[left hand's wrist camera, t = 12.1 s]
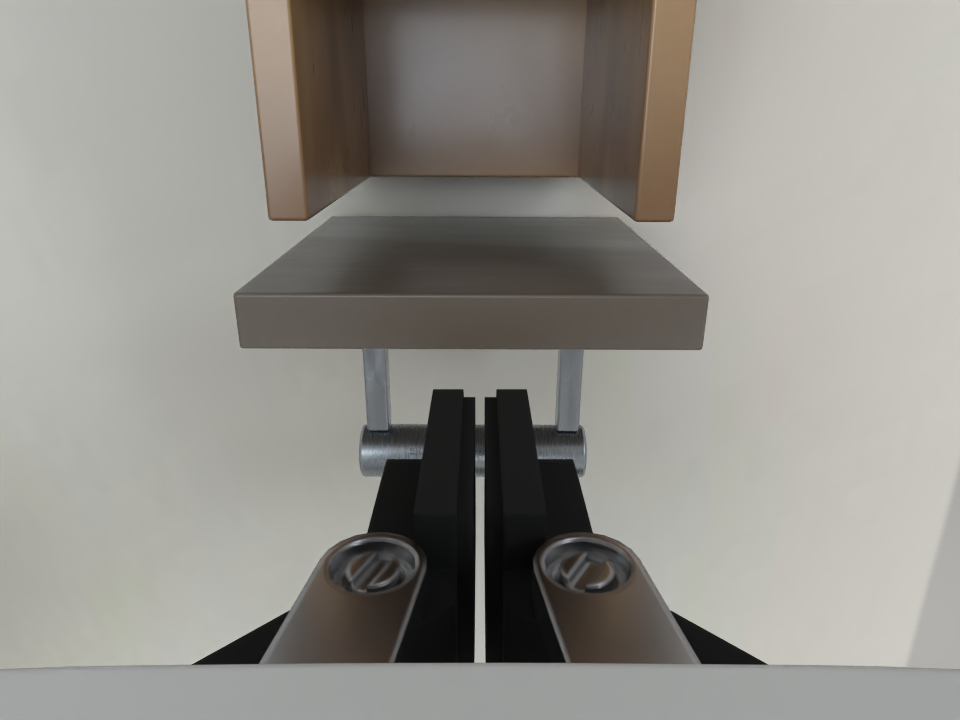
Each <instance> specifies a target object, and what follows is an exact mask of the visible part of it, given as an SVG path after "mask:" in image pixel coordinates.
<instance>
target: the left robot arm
mask: <svg viewBox="0 0 960 720" xmlns="http://www.w3.org/2000/svg"><path fill="white" fill-rule="evenodd" d="M475 546H476V504H475V397H464V392H463V389H433V394H432V400H431V406H430V413H429V419H428V425H427V431H426V437H425V443H424V450H423V456H422V459H387V461H386V463H385V467H384V471H383V475H382V479H381V482H380V486H379V490H378V494H377V498H376V502H375V505H374V509H373V513H372V517H371V521H370V525H369V528H368V532H367V533H366V534H361V535H356V536H353V537H350V538H348V539H345V540H343V541H340V542H339V543H337V544H336V545H334V546H333V547H331V548H330V549H329V550H328V551H327V552H326V553H325V554H324V555H323V557H322V558H321V559H320V560H319V562H318V564H317V566H316V567H315V569H314V571H313V572H312V574H311V576H310V578H309V579H308V581H307V583H306V584H305V586H304V588H303V589H302V591H301V593H300V595H299V596H298V598H297V600H296V601H295V603H294V605H293V606H292V608H291V610H290V611H288V612H286V613H284V614H282V615H281V616H279V617H277V618H275V619H273V620H272V621H270V622H268V623H266V624H264V625H263V626H261V627H259V628H257V629H255V630H254V631H252V632H250V633H248V634H246V635H245V636H243V637H241V638H239V639H237V640H235V641H234V642H232V643H230V644H228V645H226V646H225V647H223V648H221V649H219V650H217V651H216V652H214V653H212V654H210V655H208V656H207V657H205V658H203V659H201V660H199V661H198V662H196V663H194V664H192V665H145V666H75V667H47V668H20V669H0V720H960V669H940V668H912V667H885V666H831V665H768V664H766V663H764V662H762V661H761V660H759V659H757V658H755V657H753V656H752V655H750V654H748V653H746V652H744V651H743V650H741V649H739V648H737V647H735V646H734V645H732V644H730V643H728V642H726V641H725V640H723V639H721V638H719V637H717V636H715V635H714V634H712V633H710V632H708V631H706V630H705V629H703V628H701V627H699V626H697V625H696V624H694V623H692V622H690V621H688V620H687V619H685V618H683V617H681V616H679V615H678V614H676V613H674V612H672V611H670V610H669V608H668V606H667V605H666V603H665V601H664V600H663V598H662V596H661V595H660V593H659V591H658V589H657V588H656V586H655V584H654V583H653V581H652V579H651V578H650V576H649V574H648V572H647V571H646V569H645V567H644V566H643V564H642V562H641V560H640V559H639V558H638V557H637V555H636V554H635V553H634V552H633V551H632V550H631V549H630V548H629V547H627V546H626V545H624V544H623V543H621V542H620V541H617V540H615V539H612V538H610V537H607V536H604V535H599V534H594V533H593V532H592V528H591V525H590V521H589V517H588V513H587V509H586V505H585V502H584V498H583V494H582V490H581V486H580V482H579V479H578V475H577V471H576V467H575V463H574V461H573V459H538V456H537V450H536V443H535V437H534V431H533V425H532V419H531V413H530V406H529V400H528V394H527V389H497V392H496V397H485V503H484V546H485V645H486V663H474V645H475Z"/></svg>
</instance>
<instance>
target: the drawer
mask: <svg viewBox="0 0 960 720" xmlns="http://www.w3.org/2000/svg"><path fill="white" fill-rule="evenodd" d="M696 2H697V0H246V9H247V19H248V28H249V38H250V47H251V56H252V66H253V75H254V85H255V94H256V104H257V113H258V122H259V132H260V141H261V151H262V160H263V170H264V179H265V188H266V198H267V207H268V217H269V219H270V220H275V221H306V220H308V219H310V218H311V217H313V216H314V215H316V214H317V213H319V212H320V211H321V210H323V209H324V208H326V207H327V206H329V205H330V204H331V203H333V202H334V201H336V200H337V199H339V198H340V197H342V196H343V195H344V194H346V193H347V192H349V191H350V190H352V189H353V188H355V187H356V186H357V185H359V184H360V183H362V182H363V181H365V180H366V179H367V178H369V177H579V178H581V179H582V180H583V181H584V182H586V183H587V184H588V185H590V186H591V187H592V188H593V189H595V190H596V191H597V192H598V193H600V194H601V195H602V196H604V197H605V198H606V199H607V200H609V201H610V202H611V203H613V204H614V205H615V206H616V207H618V208H619V209H620V210H621V211H623V212H624V213H625V214H627V215H628V216H629V217H630V218H632V219H633V220H634V221H636V222H671V221H673V219H674V213H675V204H676V194H677V185H678V175H679V165H680V156H681V146H682V137H683V127H684V117H685V108H686V98H687V89H688V79H689V70H690V60H691V50H692V41H693V31H694V22H695V12H696ZM708 300H709V297H708V295H707V294H706V293H705V292H704V291H703V290H702V289H700V288H699V287H698V286H697V285H696V284H695V283H693V282H692V281H691V280H690V279H689V278H688V277H686V276H685V275H684V274H683V273H682V272H681V271H679V270H678V269H677V268H676V267H675V266H674V265H672V264H671V263H670V262H669V261H668V260H667V259H665V258H664V257H663V256H662V255H661V254H660V253H658V252H657V251H656V250H655V249H654V248H653V247H651V246H650V245H649V244H648V243H647V242H646V241H644V240H643V239H642V238H641V237H640V236H639V235H637V234H636V233H635V232H634V231H633V230H632V229H630V228H629V227H628V226H627V225H626V224H625V223H623V222H622V221H621V220H620V219H619V218H577V217H331V218H330V219H328V220H327V221H326V222H325V223H323V224H322V225H321V226H319V227H318V228H317V229H316V230H314V231H313V232H312V233H311V234H309V235H308V236H307V237H305V238H304V239H303V240H302V241H300V242H299V243H298V244H297V245H295V246H294V247H293V248H291V249H290V250H289V251H288V252H286V253H285V254H284V255H283V256H281V257H280V258H279V259H277V260H276V261H275V262H274V263H272V264H271V265H270V266H269V267H267V268H266V269H265V270H263V271H262V272H261V273H260V274H258V275H257V276H256V277H255V278H253V279H252V280H251V281H249V282H248V283H247V284H246V285H244V286H243V287H242V288H241V289H239V290H238V291H237V292H235V293H234V303H235V311H236V318H237V326H238V334H239V341H240V346H241V348H305V349H363V363H364V379H365V396H366V412H367V424H366V425H364V426H363V428H362V431H361V436H360V445H359V462H360V469H361V473H362V475H363V476H382V475H383V471H384V467H385V463H386V461H387V459H422V456H423V450H424V443H425V437H426V431H427V425H428V424H391V403H390V382H389V361H388V349H558V370H557V391H556V412H555V424H556V425H533V431H534V437H535V443H536V450H537V456H538V459H573V461H574V463H575V467H576V471H577V475H578V477H582V476H583V475H584V473H585V469H586V458H587V449H586V436H585V431H584V428H583V426H581V425H579V414H580V398H581V382H582V365H583V349H585V350H700V349H702V347H703V339H704V332H705V324H706V316H707V308H708ZM475 477H485V425H475Z"/></svg>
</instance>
